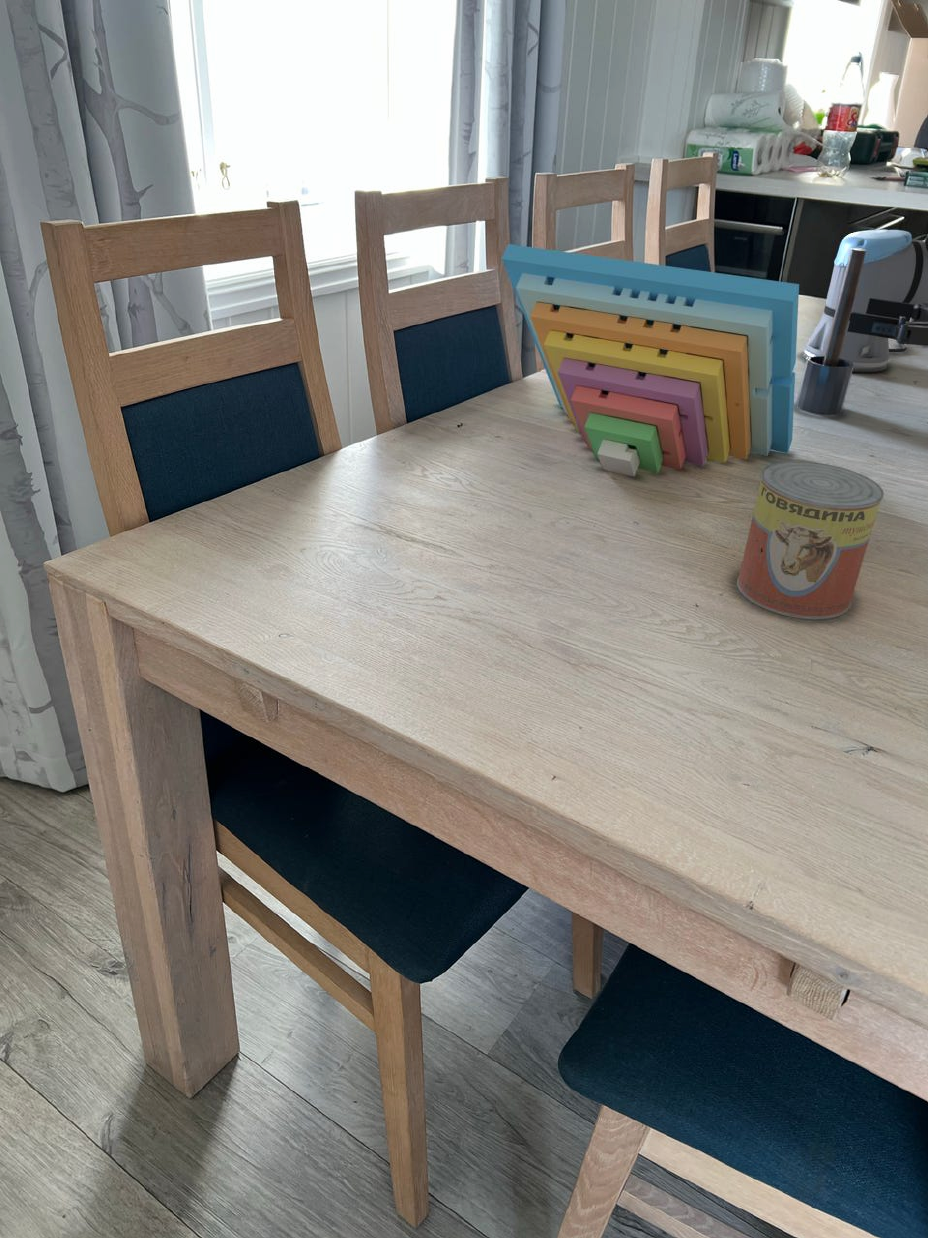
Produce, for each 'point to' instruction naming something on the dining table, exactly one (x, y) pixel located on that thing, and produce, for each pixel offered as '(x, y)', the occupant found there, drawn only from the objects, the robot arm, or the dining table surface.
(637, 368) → the rainbow stepped pyramid
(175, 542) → the dining table surface
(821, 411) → the holder
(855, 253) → the stick
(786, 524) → the canned food
